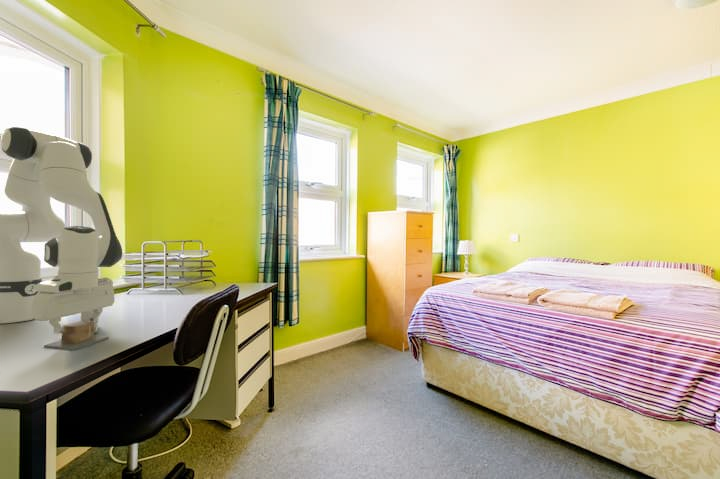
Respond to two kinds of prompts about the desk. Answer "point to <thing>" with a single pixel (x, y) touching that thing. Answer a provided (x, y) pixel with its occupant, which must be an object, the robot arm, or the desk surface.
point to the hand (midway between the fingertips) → (77, 327)
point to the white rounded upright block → (86, 316)
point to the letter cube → (78, 332)
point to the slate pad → (75, 346)
